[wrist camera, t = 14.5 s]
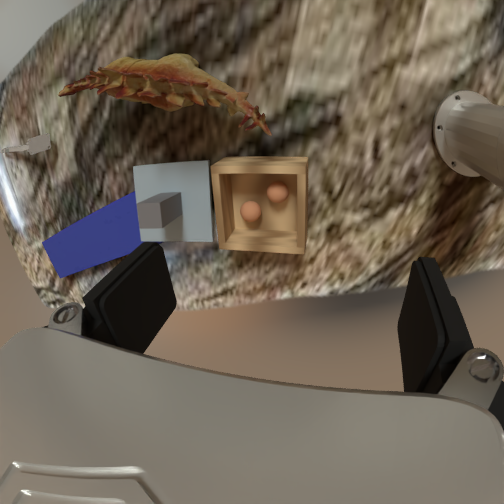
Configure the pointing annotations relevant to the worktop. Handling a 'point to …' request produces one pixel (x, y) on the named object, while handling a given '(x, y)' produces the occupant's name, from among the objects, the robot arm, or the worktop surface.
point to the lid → (174, 201)
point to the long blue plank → (96, 238)
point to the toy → (167, 86)
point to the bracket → (32, 145)
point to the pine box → (261, 203)
